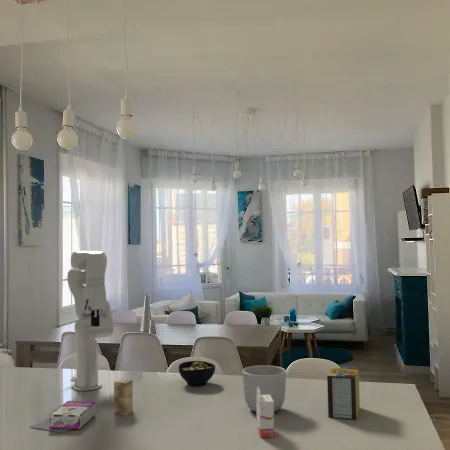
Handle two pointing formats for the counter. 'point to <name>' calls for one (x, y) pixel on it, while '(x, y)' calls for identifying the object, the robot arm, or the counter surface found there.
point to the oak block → (123, 397)
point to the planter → (264, 384)
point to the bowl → (196, 372)
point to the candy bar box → (72, 415)
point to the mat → (46, 426)
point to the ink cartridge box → (265, 415)
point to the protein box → (343, 392)
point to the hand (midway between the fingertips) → (95, 326)
